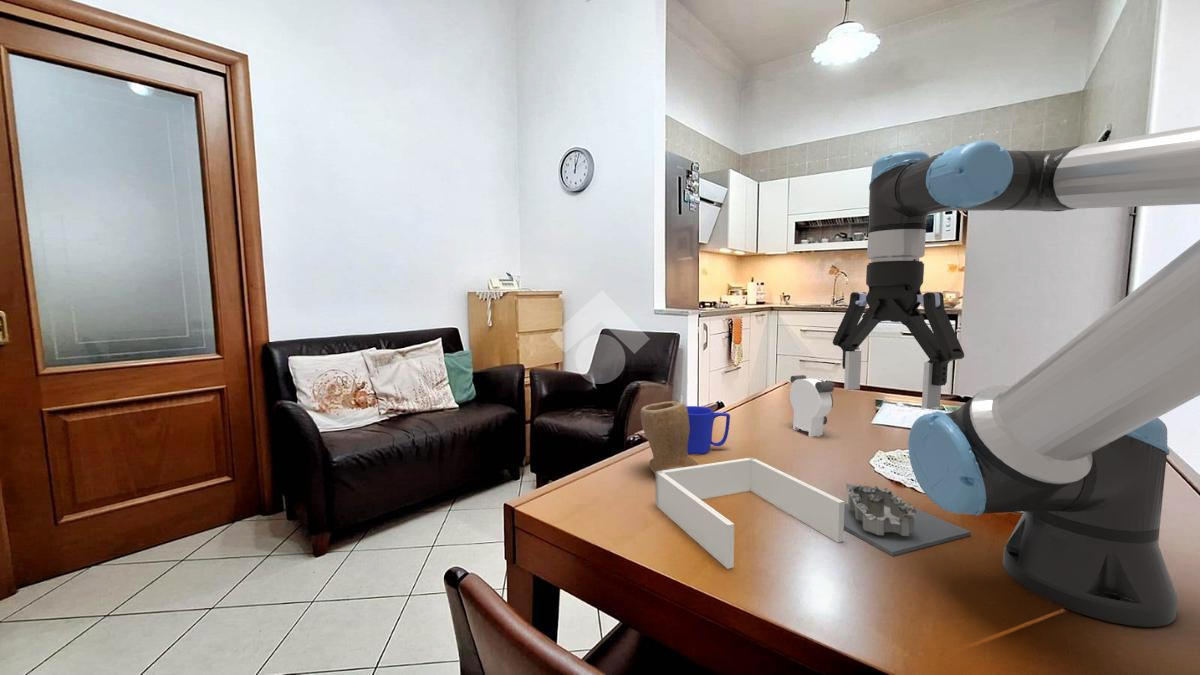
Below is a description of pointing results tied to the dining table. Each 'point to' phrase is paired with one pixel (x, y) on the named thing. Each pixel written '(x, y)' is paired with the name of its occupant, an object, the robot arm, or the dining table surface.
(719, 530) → the white open frame
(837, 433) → the dining table surface
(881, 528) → the grey castle ring
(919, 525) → the mat
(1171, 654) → the dining table surface
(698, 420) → the mug
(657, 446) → the stone cup
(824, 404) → the panda figurine
